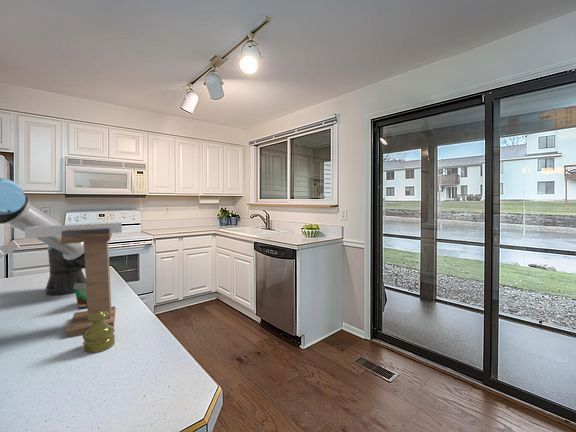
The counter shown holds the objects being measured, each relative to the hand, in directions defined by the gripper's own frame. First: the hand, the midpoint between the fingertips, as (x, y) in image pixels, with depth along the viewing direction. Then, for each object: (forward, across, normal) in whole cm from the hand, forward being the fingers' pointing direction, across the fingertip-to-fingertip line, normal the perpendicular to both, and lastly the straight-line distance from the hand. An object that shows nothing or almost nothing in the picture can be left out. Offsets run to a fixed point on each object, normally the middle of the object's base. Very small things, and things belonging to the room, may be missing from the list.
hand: (9, 246), depth 83 cm
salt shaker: (+5, +16, -35) cm, 39 cm away
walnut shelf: (+2, -3, -33) cm, 33 cm away
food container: (+2, -23, -33) cm, 40 cm away
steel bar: (+15, 0, -6) cm, 16 cm away
